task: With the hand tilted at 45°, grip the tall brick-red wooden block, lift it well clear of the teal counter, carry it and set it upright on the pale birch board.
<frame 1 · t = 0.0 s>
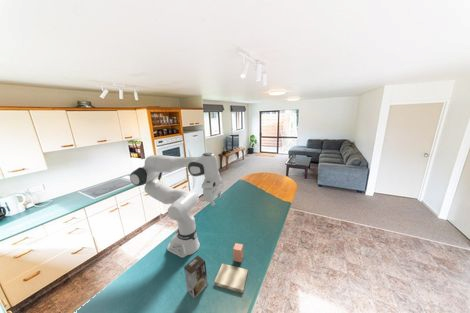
hand: (216, 201, 101), 39 cm above the table, tool pointing down, fingers open, 8 cm apart
coffee box: (197, 288, 89), on the table
birch board: (231, 278, 93), on the table
brick block: (238, 258, 106), on the table
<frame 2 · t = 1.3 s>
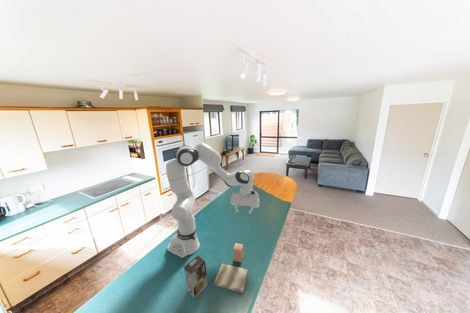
hand: (242, 212, 111), 25 cm above the table, tool tilted 45°, fingers open, 8 cm apart
nothing on the table moved.
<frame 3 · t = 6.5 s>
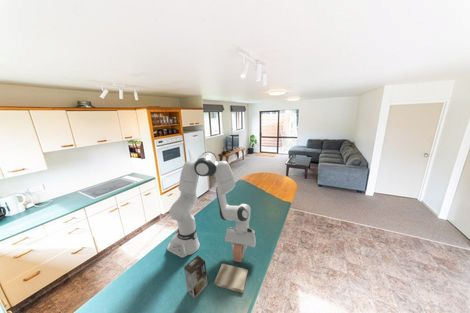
hand: (238, 252, 104), 5 cm above the table, tool tilted 45°, fingers closed on brick block, 5 cm apart
brick block: (238, 258, 106), on the table, touching gripper
everything else where it was.
when the fingers open (9 cm above the table, at t = 14.0 s): brick block drops 1 cm, resting on birch board.
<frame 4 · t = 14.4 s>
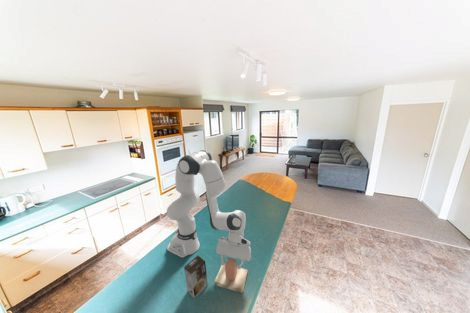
hand: (230, 267, 91), 9 cm above the table, tool tilted 45°, fingers open, 8 cm apart
brick block: (231, 275, 93), point 2 cm above the table, touching birch board
everything else where it was.
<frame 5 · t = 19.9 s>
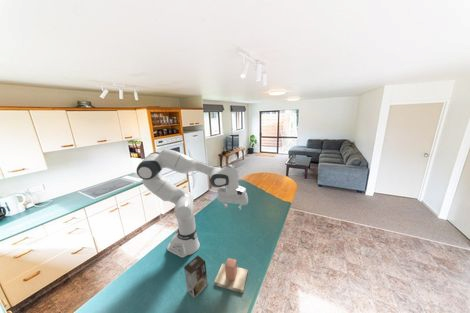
hand: (232, 208, 110), 29 cm above the table, tool pointing down, fingers open, 8 cm apart
nothing on the table moved.
at the end: brick block inside the target area on the birch board (0.1 cm from its centre), point 2.0 cm above the birch board's base; brick block tilted 0°; the gripper is holding nothing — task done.
